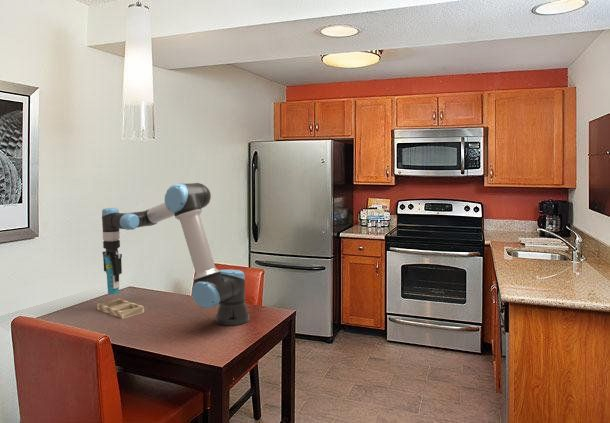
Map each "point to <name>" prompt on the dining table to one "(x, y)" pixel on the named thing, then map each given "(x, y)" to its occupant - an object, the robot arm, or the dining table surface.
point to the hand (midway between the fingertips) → (113, 287)
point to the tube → (110, 276)
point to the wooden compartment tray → (120, 308)
